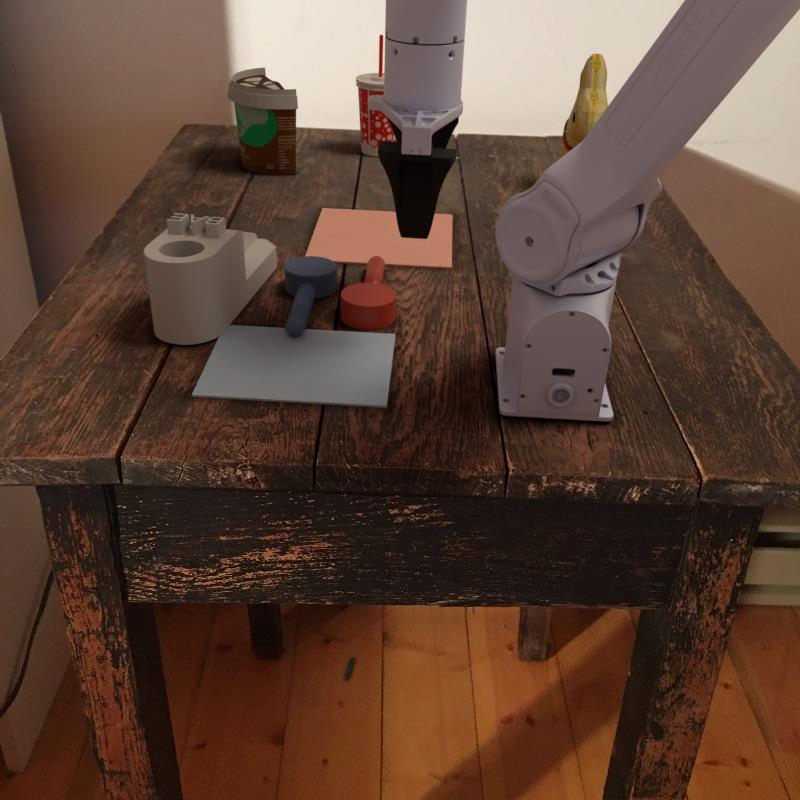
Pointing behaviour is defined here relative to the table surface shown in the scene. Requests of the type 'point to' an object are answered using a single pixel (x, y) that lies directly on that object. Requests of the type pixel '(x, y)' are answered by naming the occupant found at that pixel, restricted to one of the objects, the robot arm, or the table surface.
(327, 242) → the rose mat
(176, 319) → the grey lettered holder
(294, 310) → the blue spoon
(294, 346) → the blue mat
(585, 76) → the chocolate bunny
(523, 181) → the table surface
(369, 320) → the red spoon
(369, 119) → the beverage cup
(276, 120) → the food container
